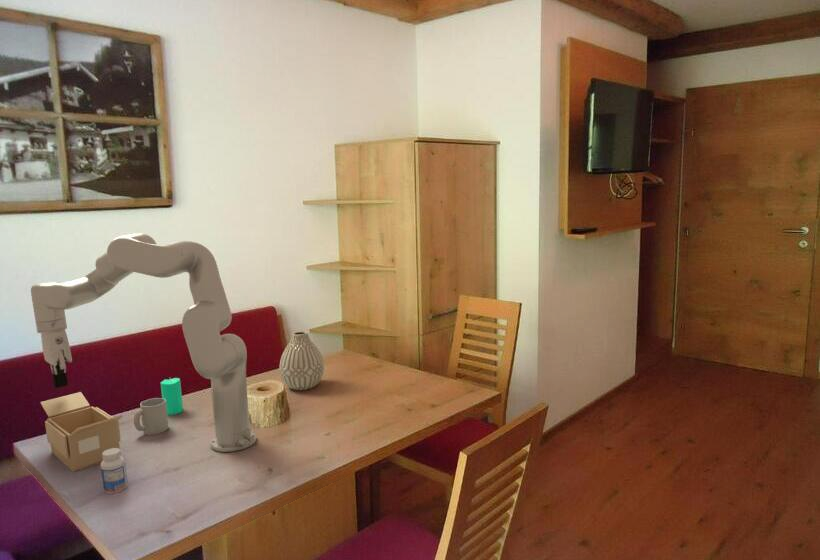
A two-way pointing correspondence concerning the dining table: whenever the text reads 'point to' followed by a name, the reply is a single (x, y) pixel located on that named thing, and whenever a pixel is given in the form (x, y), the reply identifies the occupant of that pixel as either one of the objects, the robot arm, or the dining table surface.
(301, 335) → the vase
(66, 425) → the carton
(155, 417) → the cup
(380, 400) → the dining table surface
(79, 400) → the long flap far
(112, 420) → the long flap near
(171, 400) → the candle
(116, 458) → the pill bottle
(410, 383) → the dining table surface
